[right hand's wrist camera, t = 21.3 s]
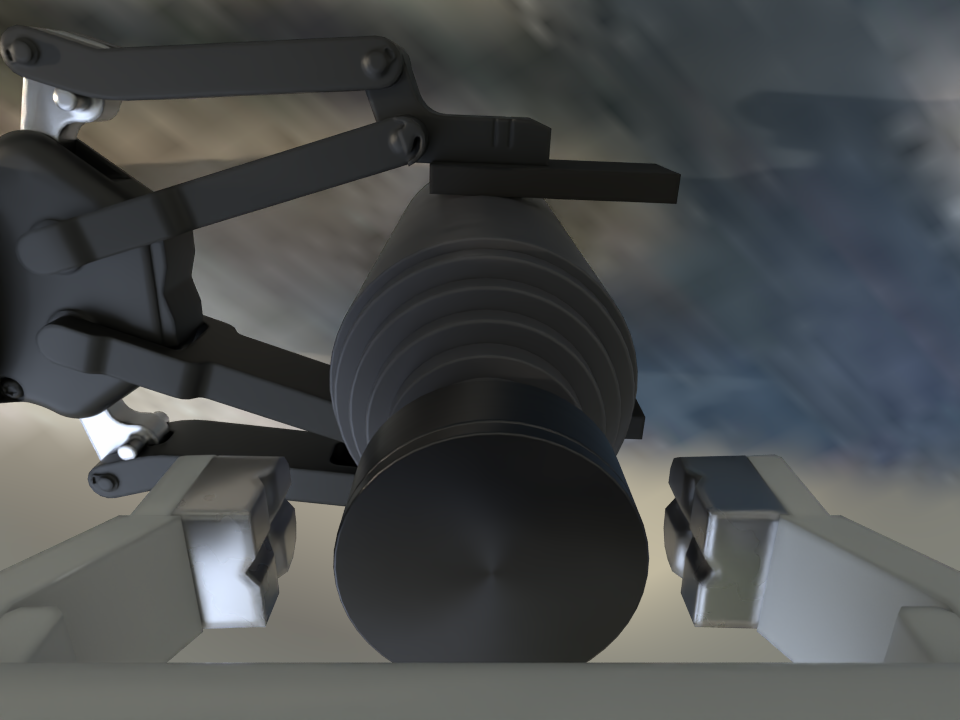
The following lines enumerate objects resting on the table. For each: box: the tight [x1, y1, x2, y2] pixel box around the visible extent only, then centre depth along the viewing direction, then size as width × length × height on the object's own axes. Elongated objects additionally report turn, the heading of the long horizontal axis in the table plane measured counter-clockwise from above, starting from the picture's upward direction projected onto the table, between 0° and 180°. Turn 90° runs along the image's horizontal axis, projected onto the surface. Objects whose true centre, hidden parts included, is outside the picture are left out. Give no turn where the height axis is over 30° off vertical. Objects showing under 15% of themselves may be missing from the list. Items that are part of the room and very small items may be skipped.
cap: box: [333, 380, 649, 663], centre depth 9 cm, size 4×4×2 cm
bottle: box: [330, 183, 638, 466], centre depth 17 cm, size 6×6×18 cm
